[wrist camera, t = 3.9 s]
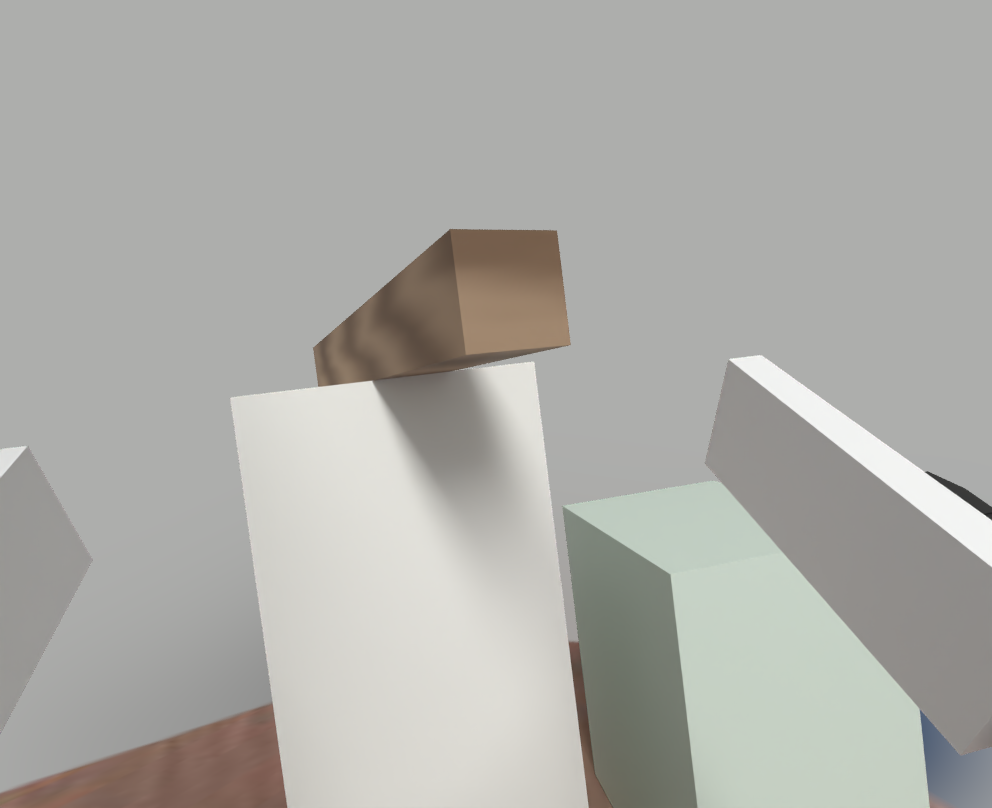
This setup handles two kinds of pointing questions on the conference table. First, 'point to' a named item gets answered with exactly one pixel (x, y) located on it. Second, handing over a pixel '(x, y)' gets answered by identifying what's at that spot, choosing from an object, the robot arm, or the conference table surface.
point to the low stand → (726, 666)
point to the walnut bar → (454, 310)
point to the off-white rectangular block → (412, 592)
